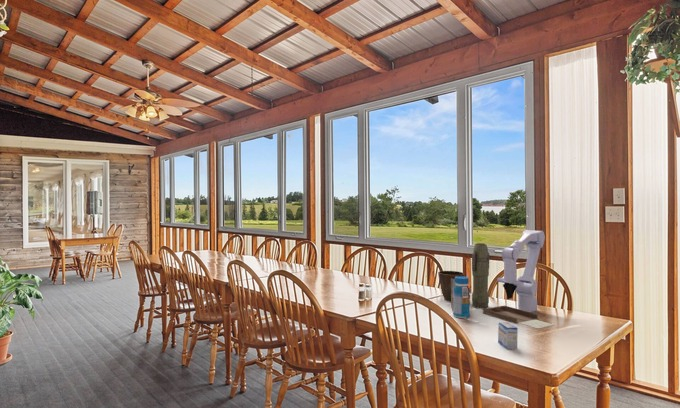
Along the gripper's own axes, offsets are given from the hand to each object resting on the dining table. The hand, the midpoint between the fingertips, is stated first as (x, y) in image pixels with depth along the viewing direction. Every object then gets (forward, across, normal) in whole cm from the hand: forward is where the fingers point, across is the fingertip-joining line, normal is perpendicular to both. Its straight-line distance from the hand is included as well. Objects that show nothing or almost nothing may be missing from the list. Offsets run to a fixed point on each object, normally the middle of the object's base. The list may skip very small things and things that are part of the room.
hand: (509, 298), depth 212 cm
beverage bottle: (+10, -12, -21) cm, 26 cm away
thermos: (+10, -22, +3) cm, 24 cm away
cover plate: (+10, +16, -2) cm, 19 cm away
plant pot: (+10, -42, 0) cm, 43 cm away
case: (+9, +2, -2) cm, 10 cm away
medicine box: (+9, +28, -37) cm, 48 cm away
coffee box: (+10, -23, -13) cm, 28 cm away
